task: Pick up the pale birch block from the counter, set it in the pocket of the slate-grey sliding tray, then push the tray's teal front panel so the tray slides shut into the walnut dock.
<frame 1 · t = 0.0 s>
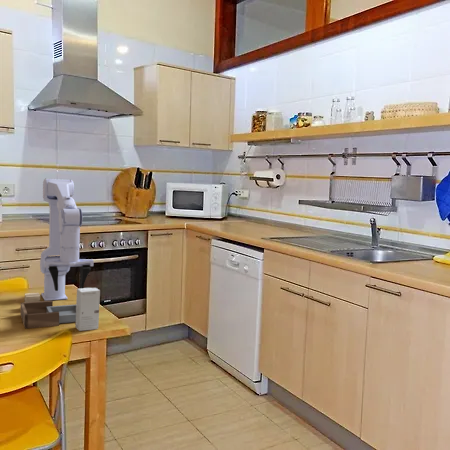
hand: (68, 289, 153), 10 cm above the table, tool pointing down, fingers open, 7 cm apart
dock: (48, 319, 154), on the table
tray: (71, 310, 157), point 2 cm above the table, slide at 6.5 cm
birch block: (32, 309, 164), on the table
skincare box: (87, 328, 148), on the table
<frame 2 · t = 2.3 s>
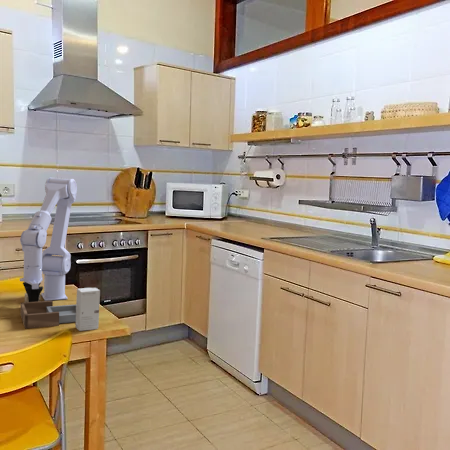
hand: (32, 304, 163), 1 cm above the table, tool pointing down, fingers closed on birch block, 4 cm apart
birch block: (32, 309, 164), on the table, touching gripper
everything else where it was.
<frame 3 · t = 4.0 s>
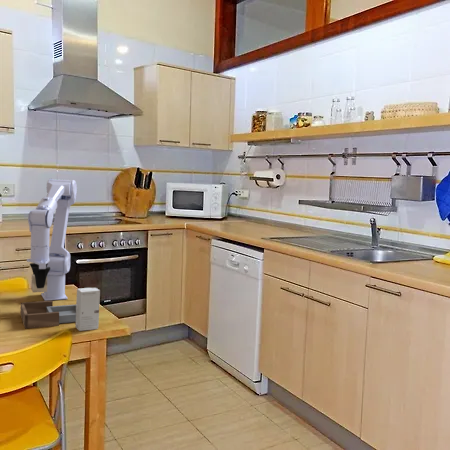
hand: (39, 286, 161), 8 cm above the table, tool pointing down, fingers closed on birch block, 4 cm apart
birch block: (39, 290, 161), point 7 cm above the table, touching gripper
everything else where it was.
when the fingers open (4 cm above the table, at t = 6.0 s): birch block drops 1 cm, resting on tray.
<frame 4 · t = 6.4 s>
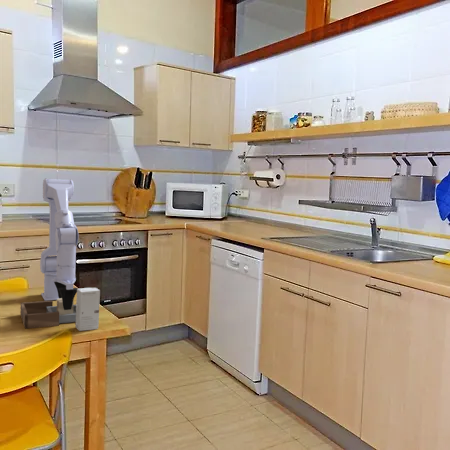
hand: (65, 306, 156), 4 cm above the table, tool pointing down, fingers open, 7 cm apart
tray: (71, 310, 157), point 2 cm above the table, slide at 6.5 cm, touching birch block
birch block: (64, 314, 156), point 1 cm above the table, touching tray
everything else where it was.
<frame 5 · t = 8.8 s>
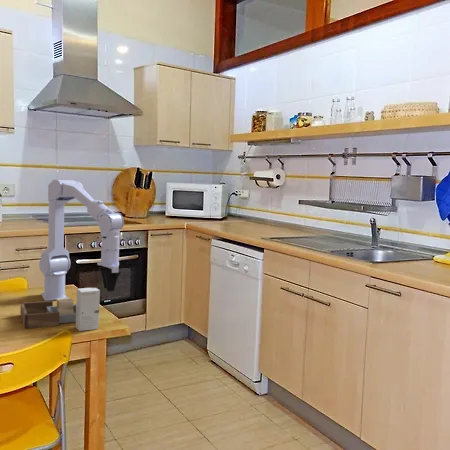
hand: (108, 289, 162), 8 cm above the table, tool pointing down, fingers open, 3 cm apart
nothing on the table moved.
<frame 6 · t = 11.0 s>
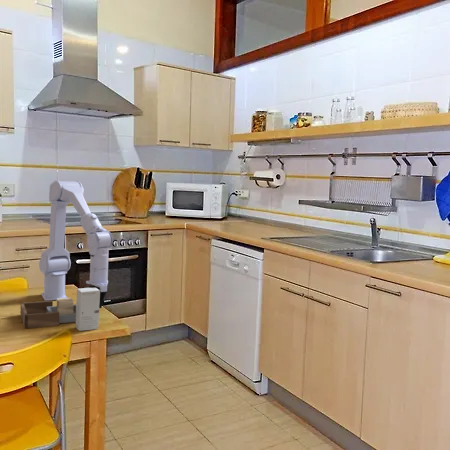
hand: (97, 307, 161), 2 cm above the table, tool pointing down, fingers closed, pressing on tray
tray: (71, 310, 157), point 2 cm above the table, slide at 6.5 cm, touching birch block, gripper
everything else where it was.
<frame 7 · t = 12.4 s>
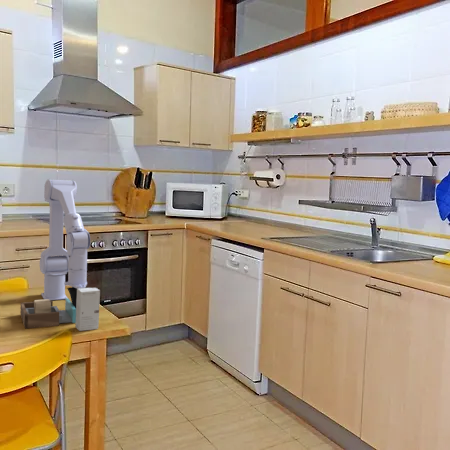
hand: (76, 309, 158), 2 cm above the table, tool pointing down, fingers closed, pressing on tray
tray: (49, 312, 154), point 2 cm above the table, slide at -0.3 cm, touching birch block, gripper
birch block: (42, 316, 153), point 1 cm above the table, touching tray
everything else where it was.
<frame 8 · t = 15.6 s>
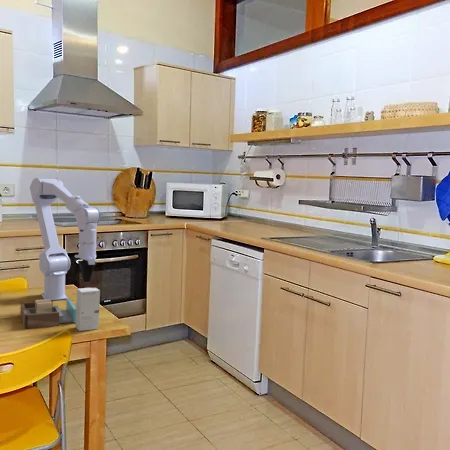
hand: (86, 281, 167), 9 cm above the table, tool pointing down, fingers closed
tray: (50, 311, 154), point 2 cm above the table, slide at 0.0 cm, touching birch block
everything else where it was.
at the end: tray slide at 0.0 cm; birch block inside the target area on the dock (1.1 cm from its centre), point 0.9 cm above the dock's base; birch block tilted 0° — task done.
